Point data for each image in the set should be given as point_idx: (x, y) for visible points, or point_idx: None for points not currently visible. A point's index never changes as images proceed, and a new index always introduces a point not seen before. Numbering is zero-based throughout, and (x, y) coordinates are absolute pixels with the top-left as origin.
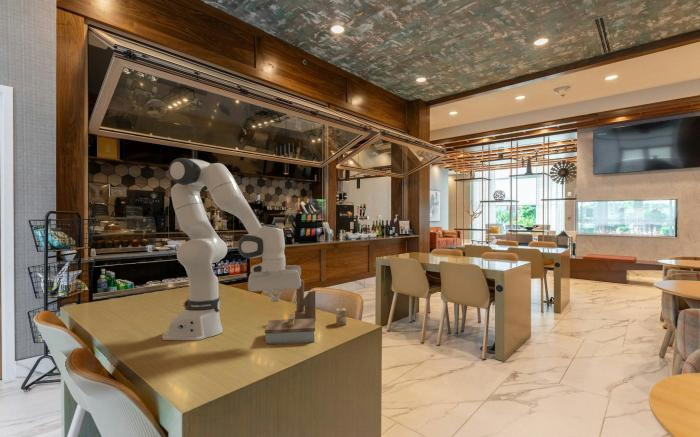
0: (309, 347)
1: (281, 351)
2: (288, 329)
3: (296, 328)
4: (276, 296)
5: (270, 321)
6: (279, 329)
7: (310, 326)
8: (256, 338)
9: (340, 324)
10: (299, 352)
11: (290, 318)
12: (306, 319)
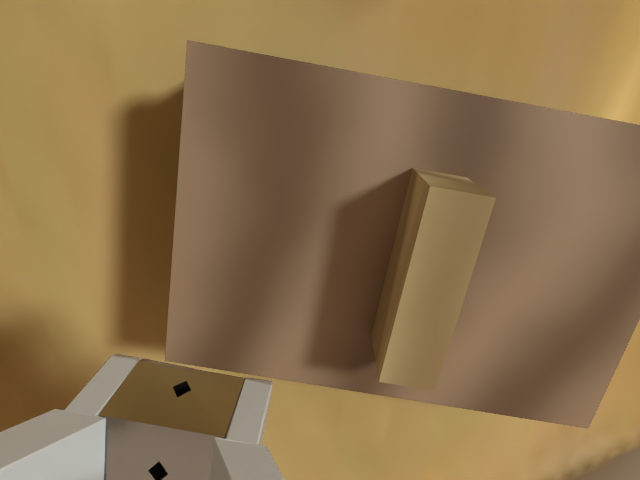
0: (471, 423)
1: (300, 430)
2: (365, 391)
3: (434, 399)
4: (185, 436)
5: (206, 100)
6: (290, 379)
7: (564, 387)
8: (125, 149)
9: None
10: (397, 469)
11: (408, 376)
12: (616, 154)
